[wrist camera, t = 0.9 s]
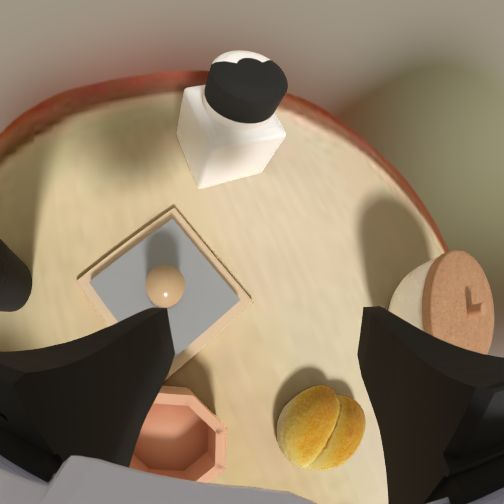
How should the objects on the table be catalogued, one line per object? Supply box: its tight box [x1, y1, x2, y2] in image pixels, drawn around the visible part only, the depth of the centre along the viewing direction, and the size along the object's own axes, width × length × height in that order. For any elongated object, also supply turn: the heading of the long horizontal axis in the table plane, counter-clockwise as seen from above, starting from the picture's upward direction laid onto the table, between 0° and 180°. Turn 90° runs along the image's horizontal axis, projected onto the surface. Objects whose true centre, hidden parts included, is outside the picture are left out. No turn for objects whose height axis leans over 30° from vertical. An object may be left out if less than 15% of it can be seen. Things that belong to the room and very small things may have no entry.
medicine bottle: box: [176, 51, 288, 189], centre depth 25 cm, size 7×7×12 cm
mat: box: [76, 208, 254, 379], centre depth 25 cm, size 11×11×1 cm
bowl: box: [129, 385, 227, 483], centre depth 20 cm, size 9×9×4 cm
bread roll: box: [277, 385, 365, 470], centre depth 24 cm, size 8×9×4 cm
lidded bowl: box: [388, 250, 494, 355], centre depth 27 cm, size 13×13×11 cm
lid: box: [89, 219, 240, 358], centre depth 23 cm, size 9×9×4 cm
